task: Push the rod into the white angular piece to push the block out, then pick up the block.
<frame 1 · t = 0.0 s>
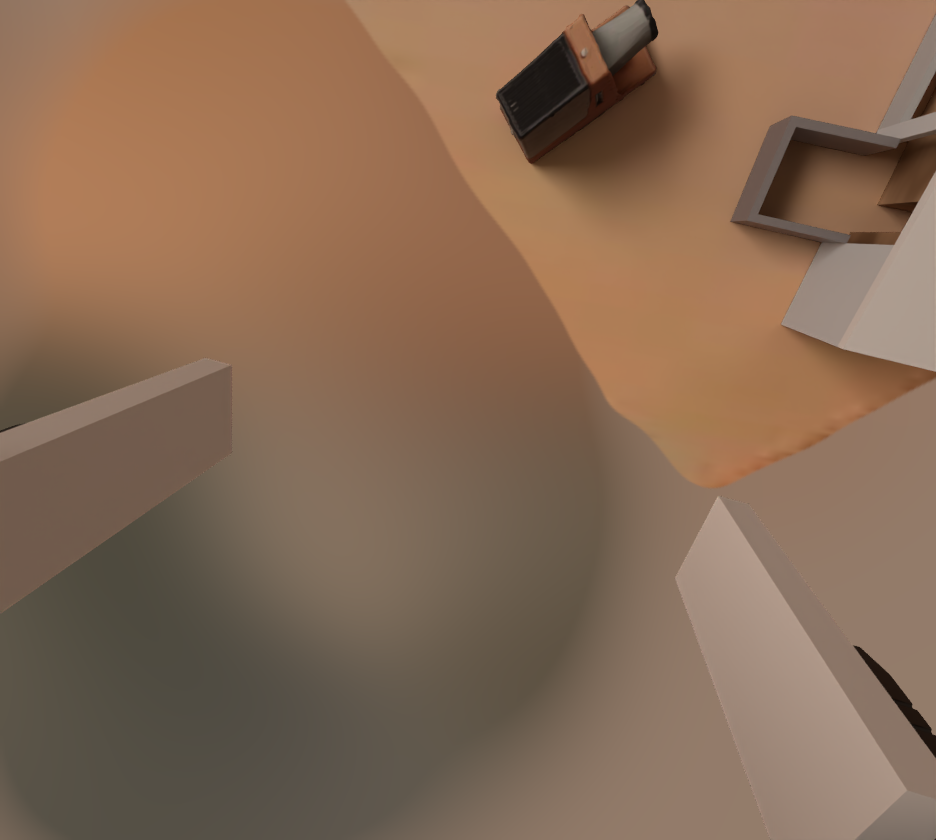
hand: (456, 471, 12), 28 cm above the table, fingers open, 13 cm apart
block: (866, 276, 33), on the table
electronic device: (575, 94, 32), on the table
white angular piece: (883, 248, 32), on the table
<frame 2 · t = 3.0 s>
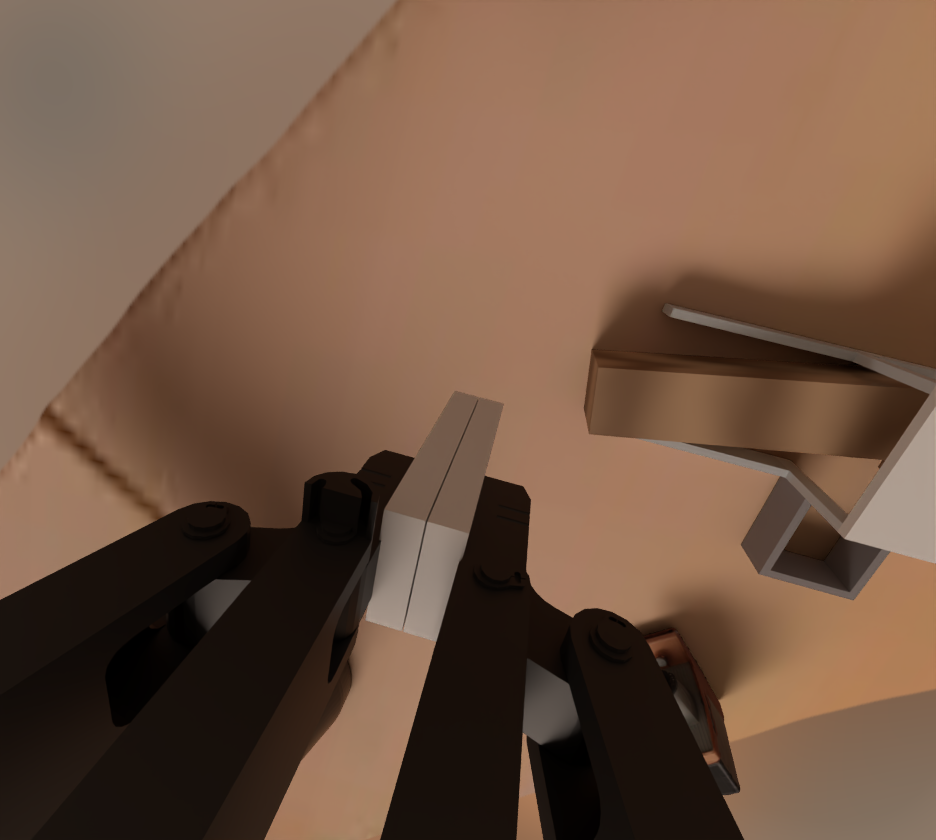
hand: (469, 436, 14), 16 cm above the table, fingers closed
rod: (725, 388, 29), on the table
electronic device: (669, 665, 38), on the table
white angular piece: (910, 434, 28), on the table
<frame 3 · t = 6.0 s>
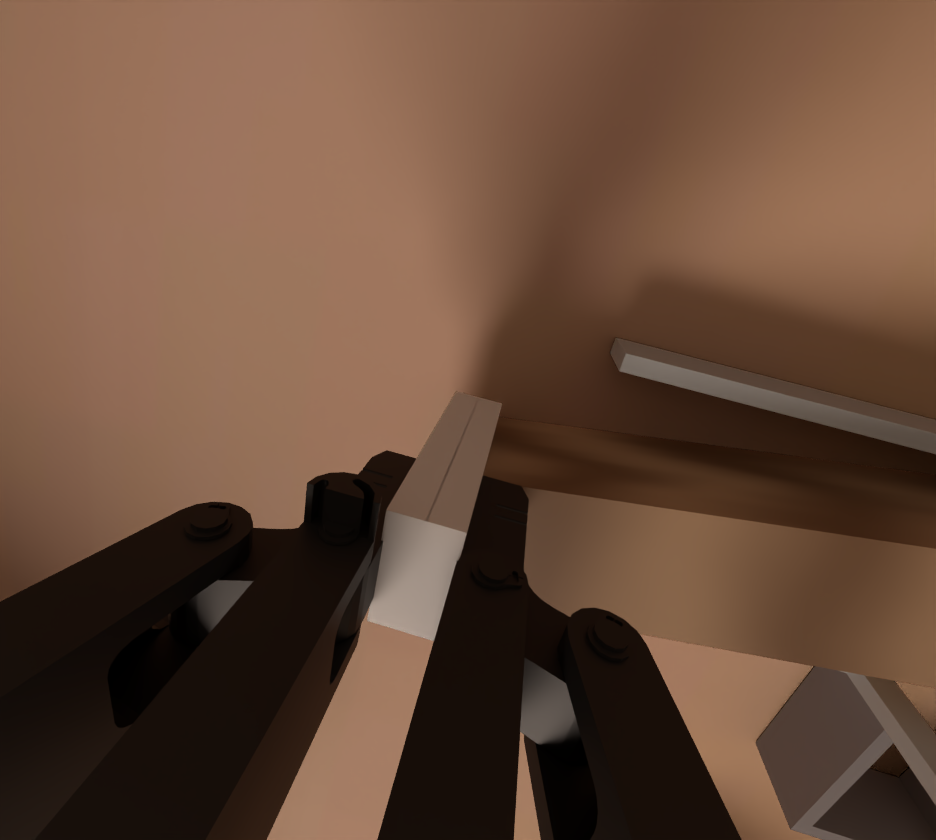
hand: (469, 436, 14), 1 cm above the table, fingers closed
rod: (745, 503, 15), on the table, touching gripper
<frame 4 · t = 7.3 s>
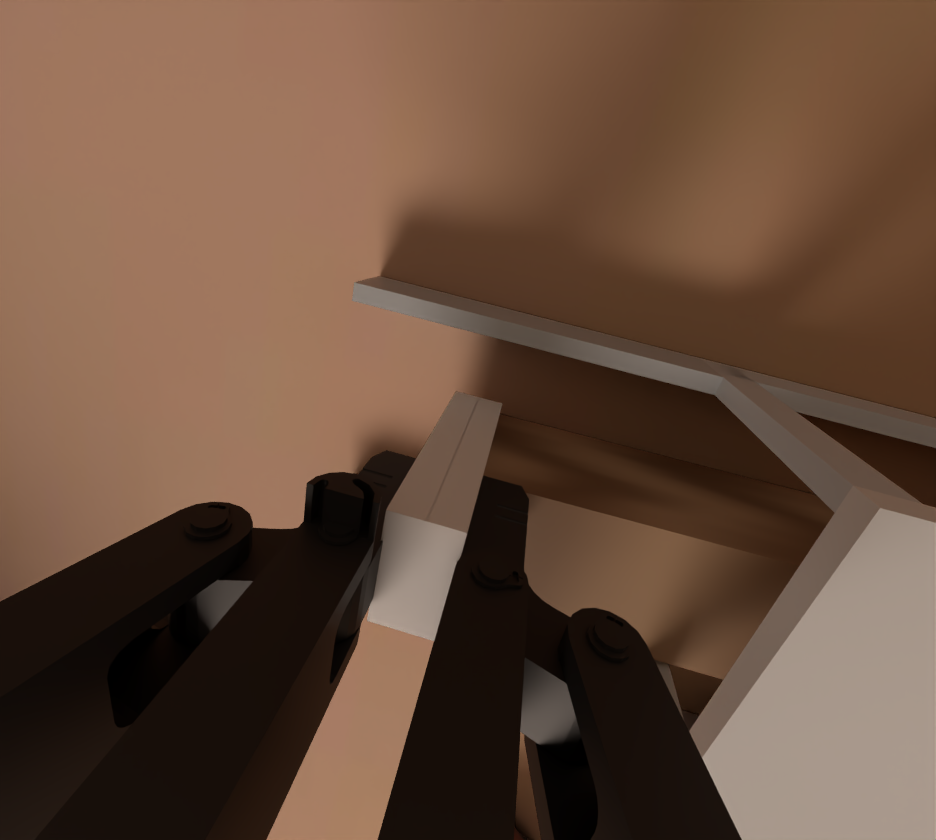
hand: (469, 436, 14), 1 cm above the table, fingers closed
rod: (729, 529, 15), on the table, touching block, gripper
white angular piece: (848, 526, 15), on the table
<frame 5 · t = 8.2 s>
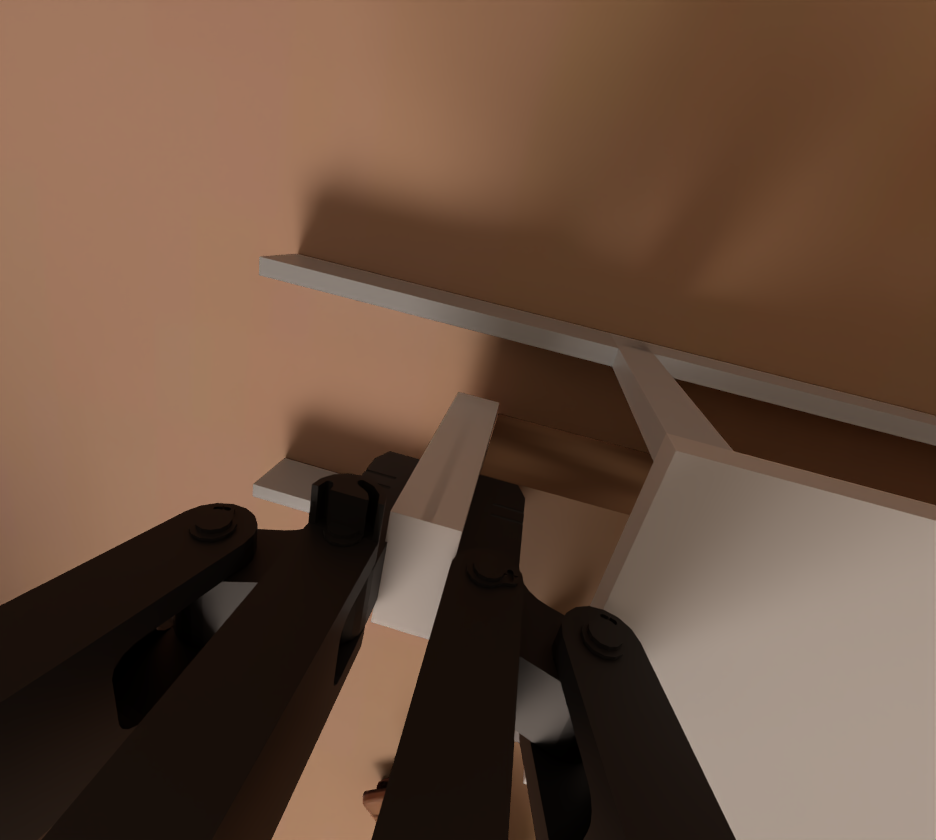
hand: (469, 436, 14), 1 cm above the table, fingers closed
rod: (725, 526, 16), on the table
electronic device: (449, 816, 25), on the table
white angular piece: (766, 502, 15), on the table
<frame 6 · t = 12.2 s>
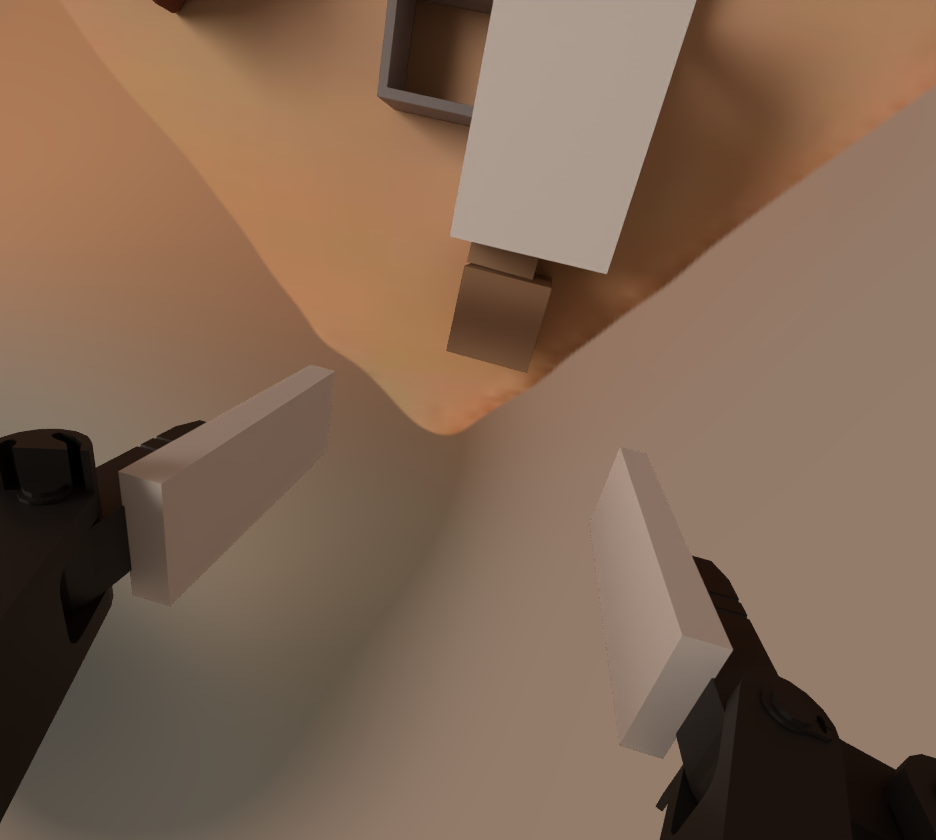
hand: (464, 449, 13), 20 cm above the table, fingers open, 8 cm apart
rod: (544, 122, 28), on the table
block: (505, 305, 32), on the table
white angular piece: (561, 136, 27), on the table
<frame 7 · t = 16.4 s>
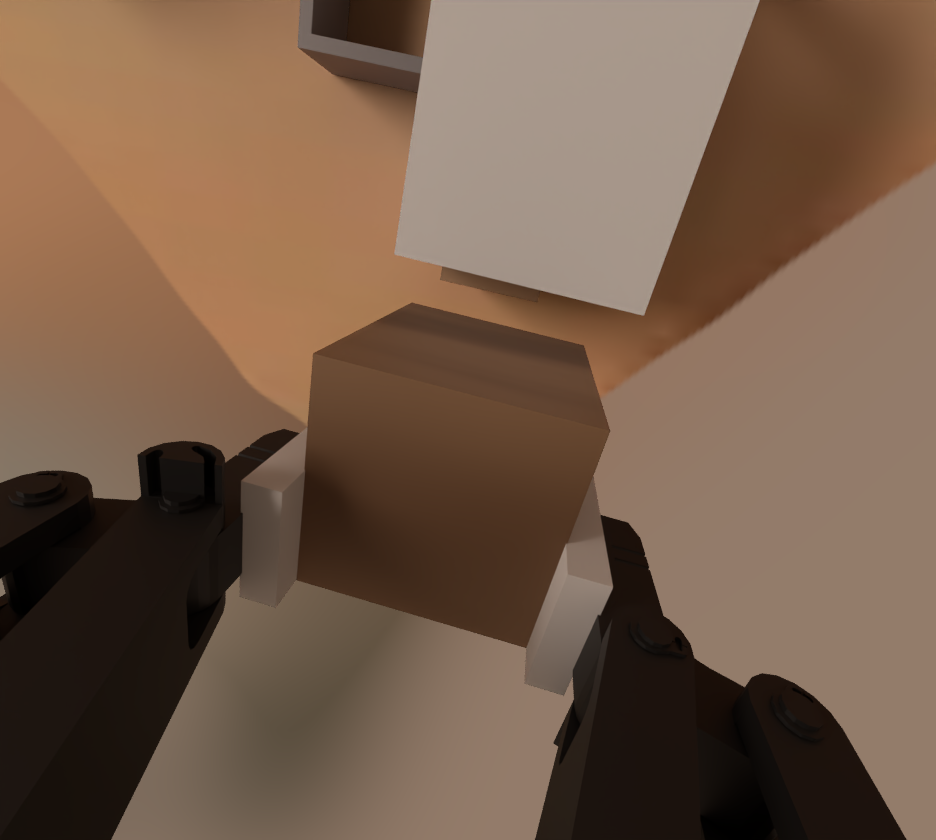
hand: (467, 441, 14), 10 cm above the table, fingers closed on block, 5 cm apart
rod: (545, 75, 19), on the table
block: (477, 404, 14), point 10 cm above the table, touching gripper
white angular piece: (569, 111, 19), on the table
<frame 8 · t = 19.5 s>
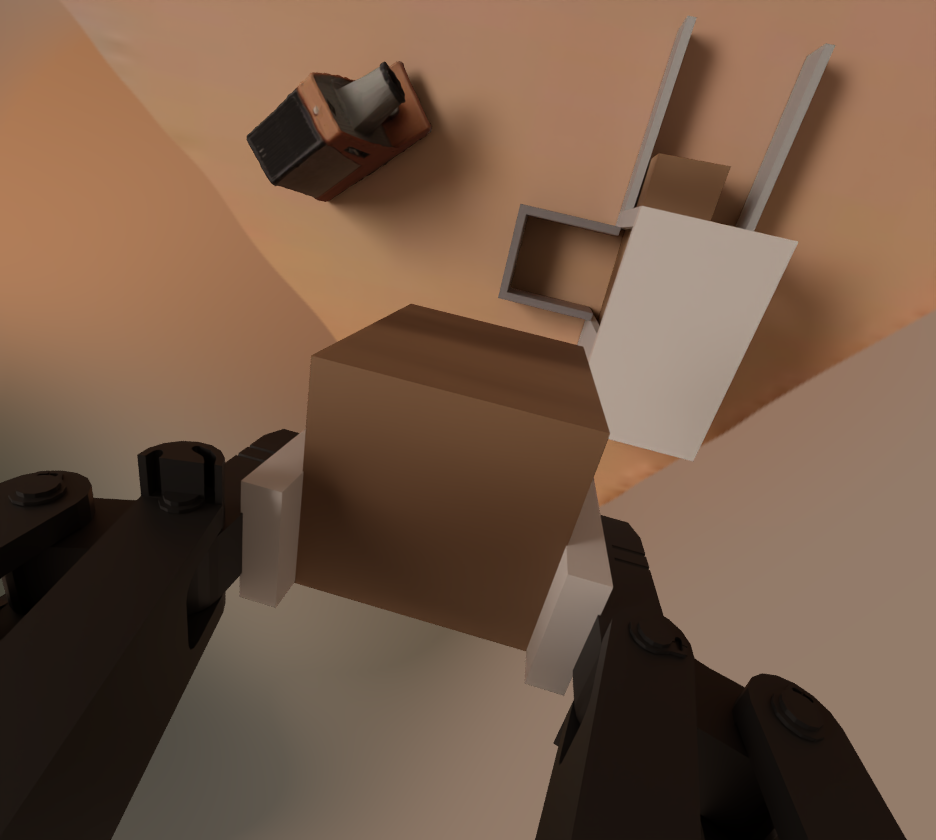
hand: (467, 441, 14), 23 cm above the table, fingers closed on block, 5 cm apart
rod: (632, 300, 33), on the table
block: (476, 405, 14), point 22 cm above the table, touching gripper
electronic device: (365, 139, 32), on the table
white angular piece: (643, 320, 33), on the table
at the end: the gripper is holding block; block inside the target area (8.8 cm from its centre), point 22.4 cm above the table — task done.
